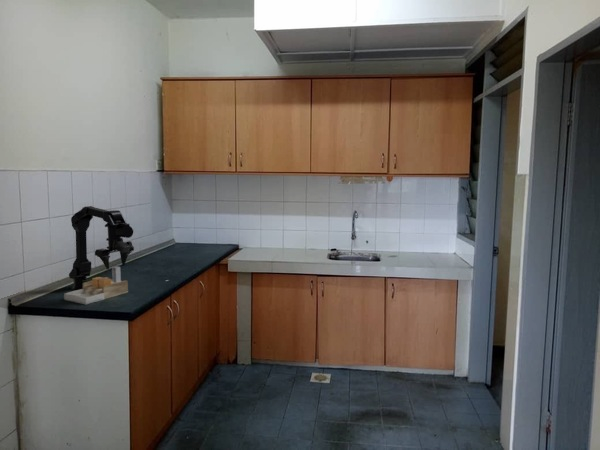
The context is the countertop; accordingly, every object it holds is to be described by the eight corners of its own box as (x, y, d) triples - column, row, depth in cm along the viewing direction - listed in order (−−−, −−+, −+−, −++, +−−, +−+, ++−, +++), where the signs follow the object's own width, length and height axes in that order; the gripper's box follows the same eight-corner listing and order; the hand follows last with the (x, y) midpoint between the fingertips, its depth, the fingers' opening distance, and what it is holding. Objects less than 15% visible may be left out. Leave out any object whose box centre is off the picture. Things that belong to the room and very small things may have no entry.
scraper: (107, 284, 236) (106, 266, 235) (113, 282, 239) (112, 265, 238) (120, 287, 231) (119, 268, 230) (126, 285, 235) (125, 267, 233)
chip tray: (64, 299, 208) (63, 293, 207) (83, 294, 216) (82, 288, 216) (85, 304, 200) (85, 298, 200) (104, 299, 209) (104, 293, 209)
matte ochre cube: (92, 286, 217) (92, 278, 216) (99, 284, 220) (99, 276, 220) (97, 287, 215) (97, 279, 215) (104, 285, 219) (104, 277, 218)
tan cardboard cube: (99, 287, 215) (98, 279, 214) (106, 285, 218) (105, 278, 218) (104, 288, 213) (104, 280, 212) (111, 286, 216) (111, 279, 216)
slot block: (83, 294, 216) (82, 282, 216) (107, 288, 229) (106, 277, 228) (104, 299, 209) (103, 287, 208) (128, 292, 221) (127, 280, 220)
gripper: (109, 240, 199) (110, 273, 201) (141, 235, 216) (142, 265, 218) (93, 238, 204) (95, 270, 206) (125, 233, 221) (126, 263, 223)
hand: (115, 267), depth 213 cm, fingers open, 9 cm apart
